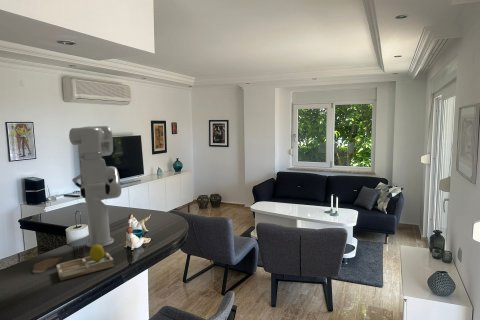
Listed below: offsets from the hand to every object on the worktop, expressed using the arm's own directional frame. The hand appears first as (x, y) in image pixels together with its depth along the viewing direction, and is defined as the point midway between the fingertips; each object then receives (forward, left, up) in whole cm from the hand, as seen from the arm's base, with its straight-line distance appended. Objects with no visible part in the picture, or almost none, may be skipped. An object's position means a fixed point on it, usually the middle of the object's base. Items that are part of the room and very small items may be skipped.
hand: (95, 195), depth 148 cm
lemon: (+8, -3, -27) cm, 28 cm away
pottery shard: (-7, -21, -29) cm, 36 cm away
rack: (+8, -8, -28) cm, 30 cm away
